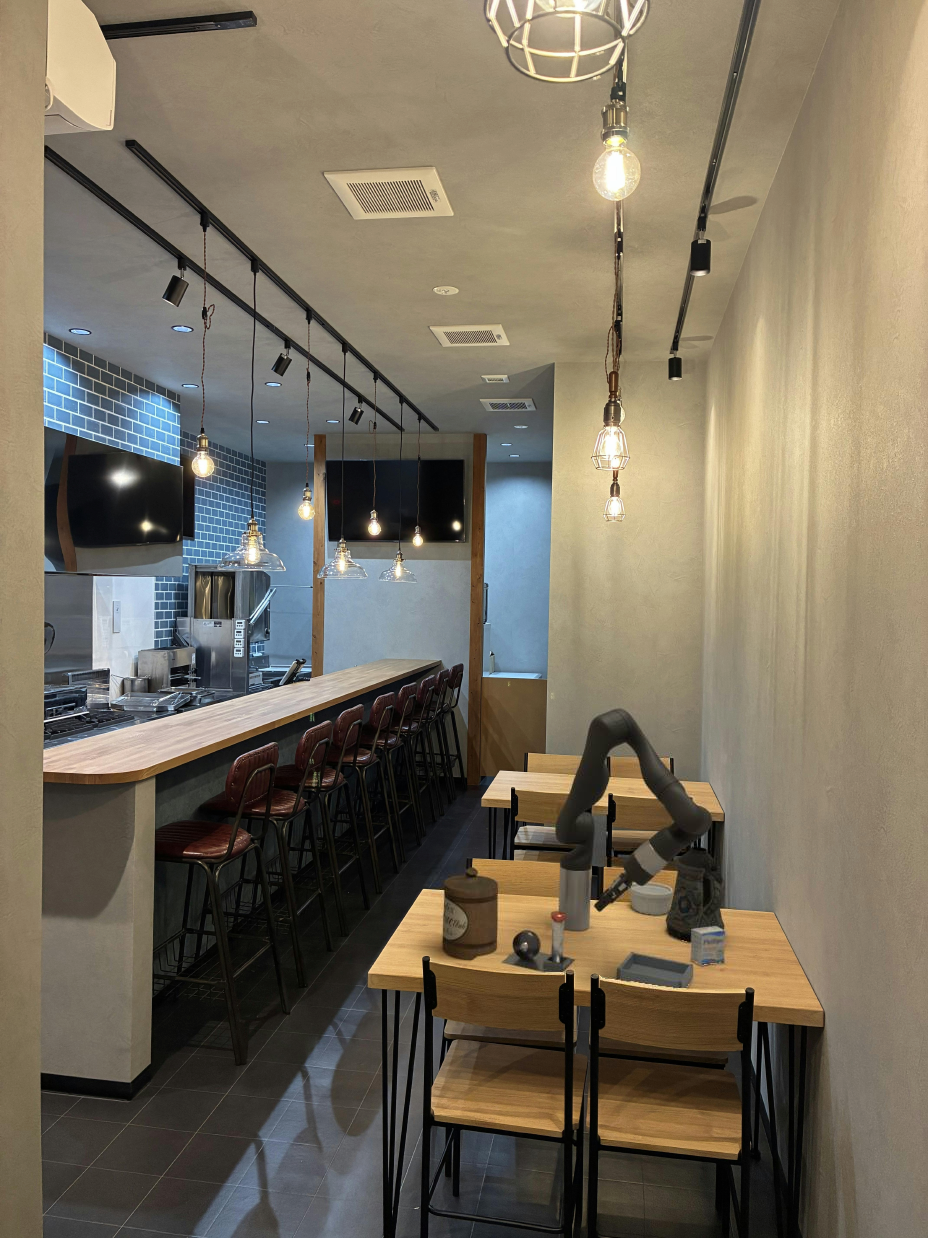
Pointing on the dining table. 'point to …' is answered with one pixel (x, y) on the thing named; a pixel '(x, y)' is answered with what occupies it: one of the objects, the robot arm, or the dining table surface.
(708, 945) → the medicine box
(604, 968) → the dining table surface
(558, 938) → the pin
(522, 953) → the pin socket base
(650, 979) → the tray
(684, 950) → the dining table surface
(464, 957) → the wooden container
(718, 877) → the beer stein
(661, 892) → the ramekin
